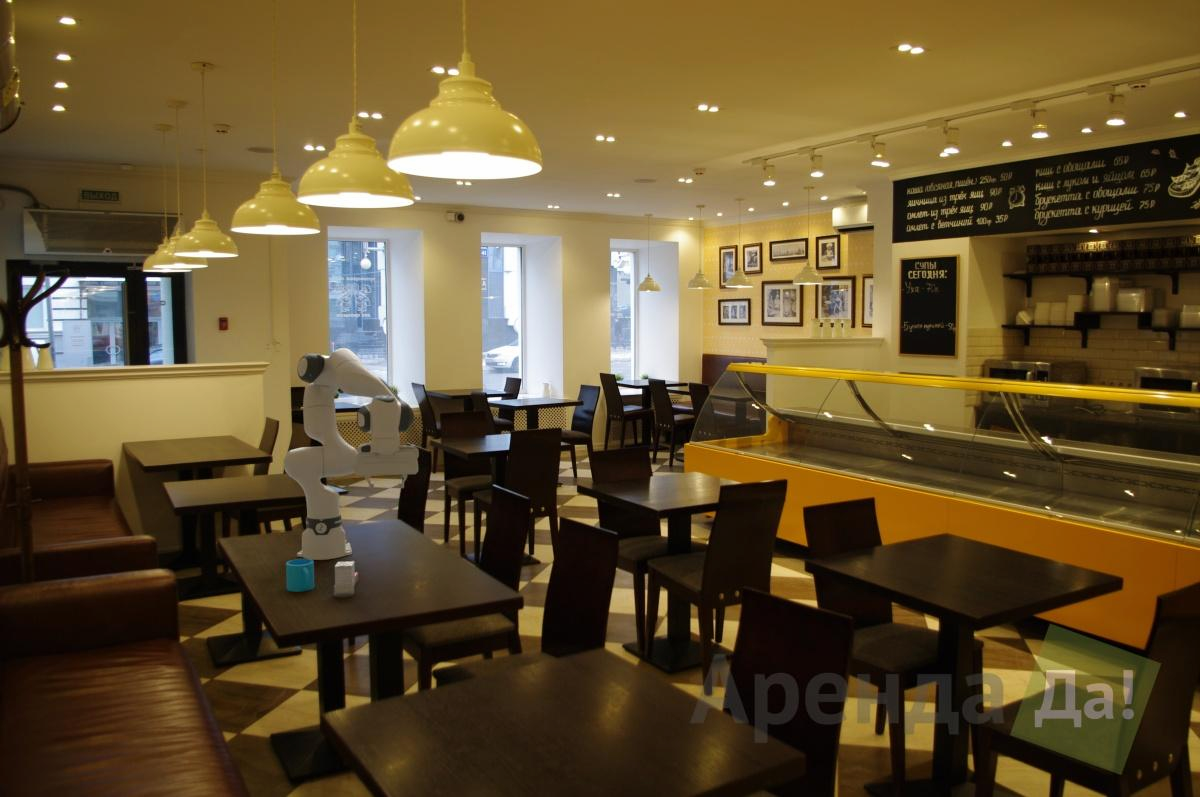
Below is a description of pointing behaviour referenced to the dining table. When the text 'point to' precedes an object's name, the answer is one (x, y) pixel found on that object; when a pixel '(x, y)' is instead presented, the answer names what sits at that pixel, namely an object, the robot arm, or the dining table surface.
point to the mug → (300, 575)
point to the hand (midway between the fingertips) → (386, 488)
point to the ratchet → (345, 590)
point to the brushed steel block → (344, 574)
